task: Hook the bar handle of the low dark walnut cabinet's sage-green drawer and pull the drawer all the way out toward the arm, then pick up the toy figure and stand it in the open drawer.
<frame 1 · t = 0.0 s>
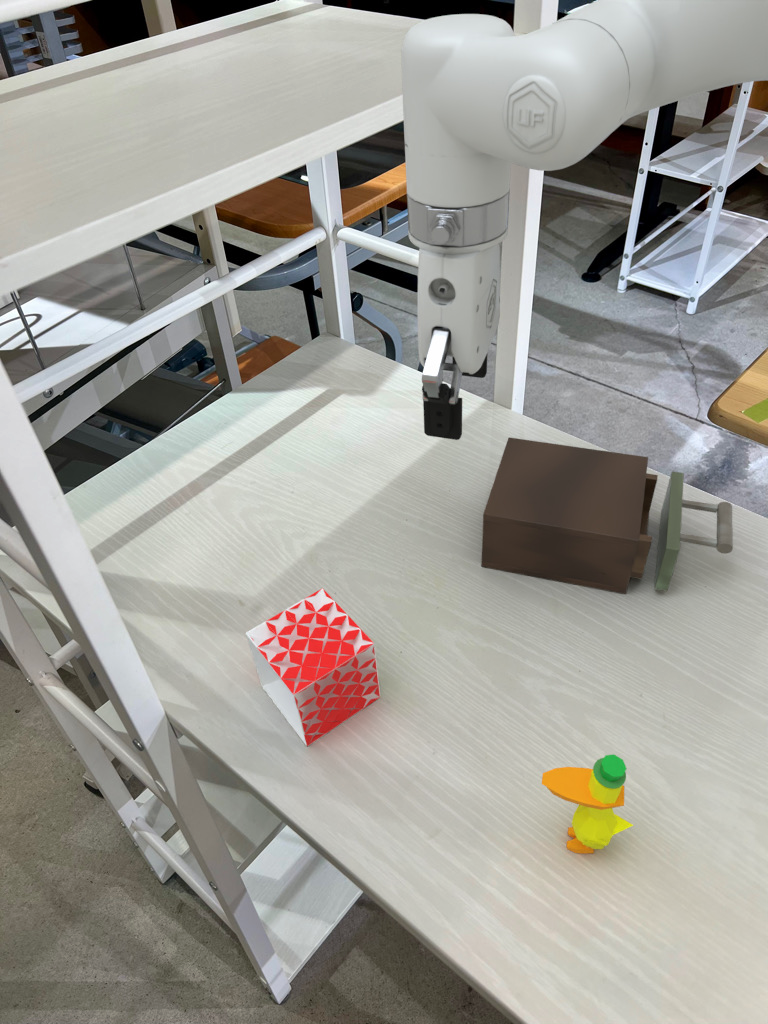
hand: (456, 403, 67), 19 cm above the table, tool pointing down, fingers open, 9 cm apart
cabinet: (560, 537, 80), on the table
toy figure: (577, 841, 57), on the table
drawer: (631, 523, 76), point 4 cm above the table, slide at 2.5 cm
red patterned cube: (320, 692, 68), on the table
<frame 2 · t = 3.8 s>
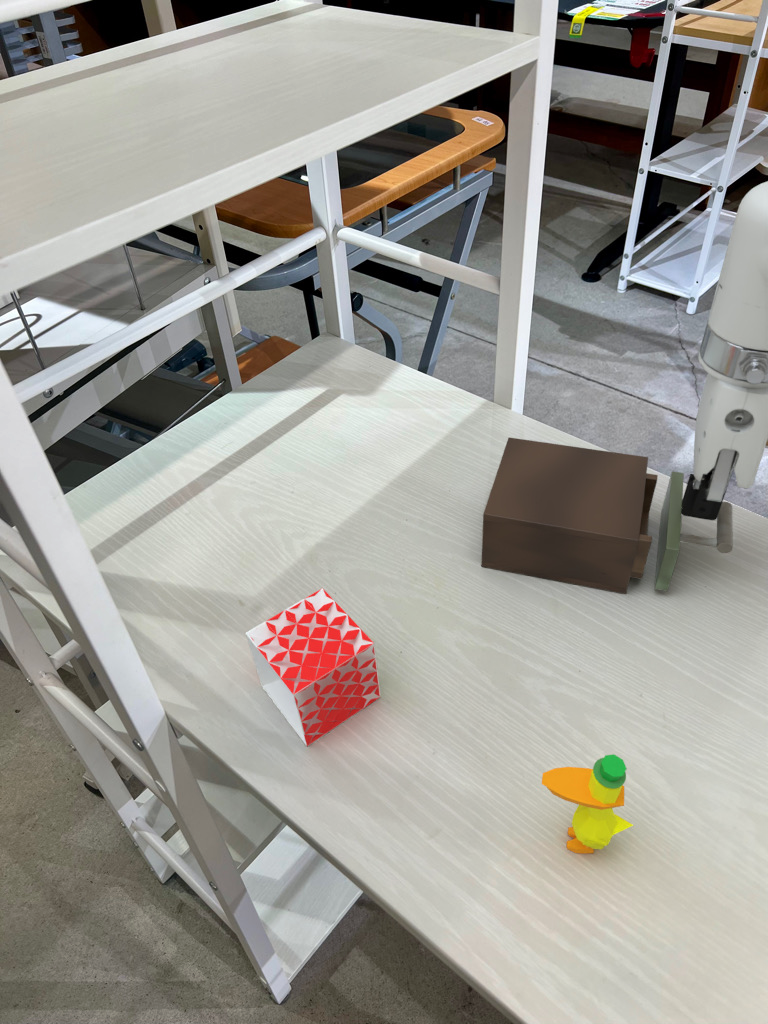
hand: (698, 512, 72), 7 cm above the table, tool pointing down, fingers closed
drawer: (631, 523, 76), point 4 cm above the table, slide at 2.5 cm, touching gripper
everything else where it was.
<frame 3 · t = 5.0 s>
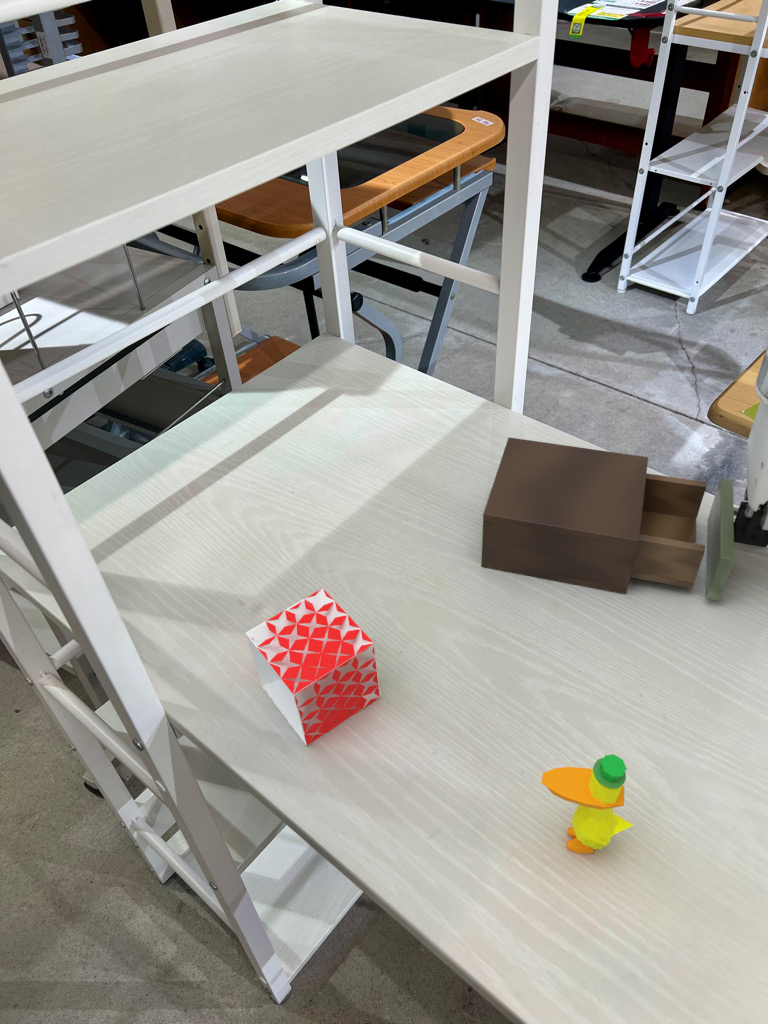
hand: (748, 539, 72), 4 cm above the table, tool pointing down, fingers closed
drawer: (680, 531, 74), point 4 cm above the table, slide at 7.2 cm, touching gripper
everything else where it was.
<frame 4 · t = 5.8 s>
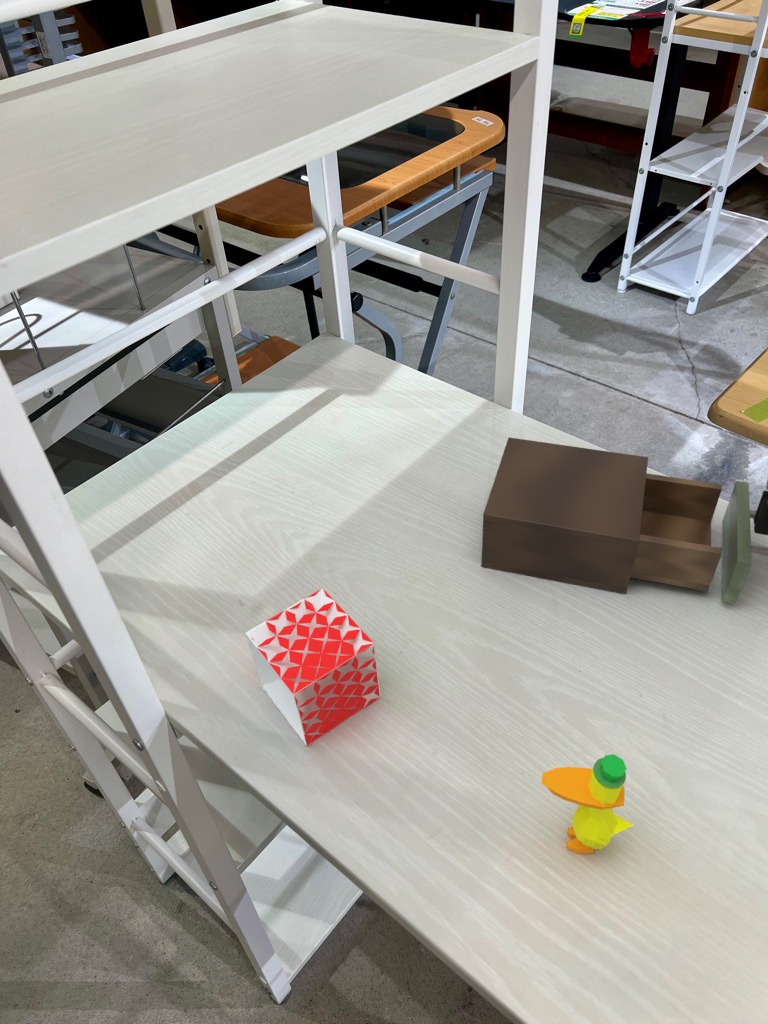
drawer: (695, 533, 74), point 4 cm above the table, slide at 8.7 cm
everything else where it was.
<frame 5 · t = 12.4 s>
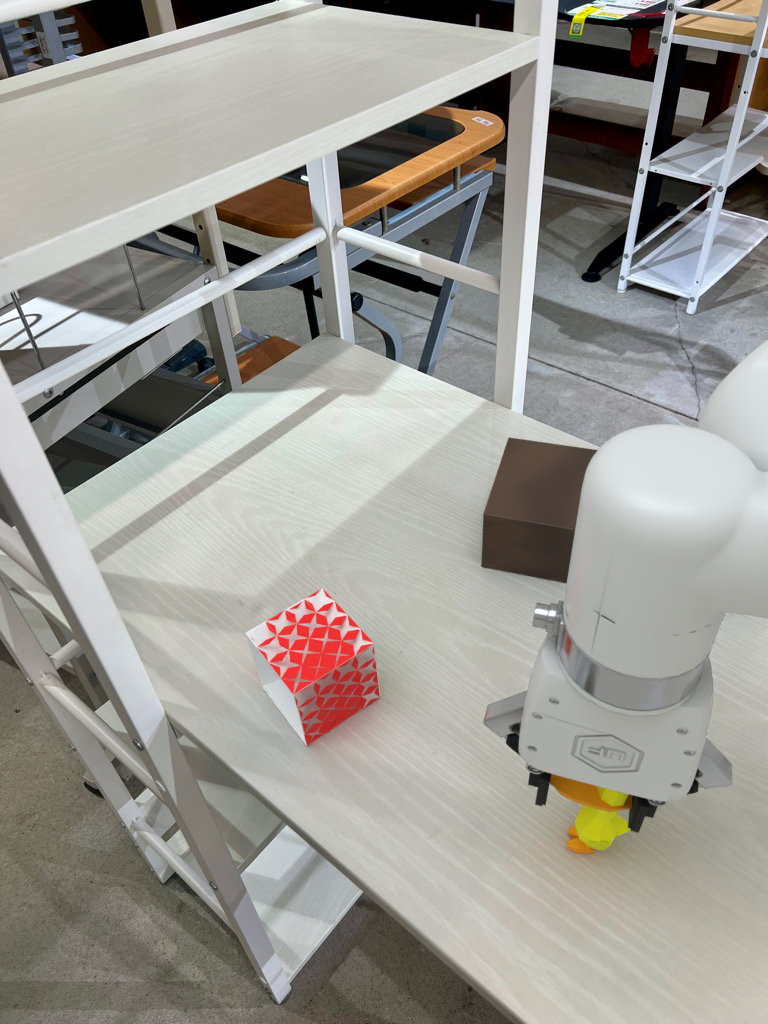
hand: (588, 797, 52), 7 cm above the table, tool pointing down, fingers closed on toy figure, 5 cm apart
toy figure: (577, 841, 57), on the table, touching gripper
everything else where it was.
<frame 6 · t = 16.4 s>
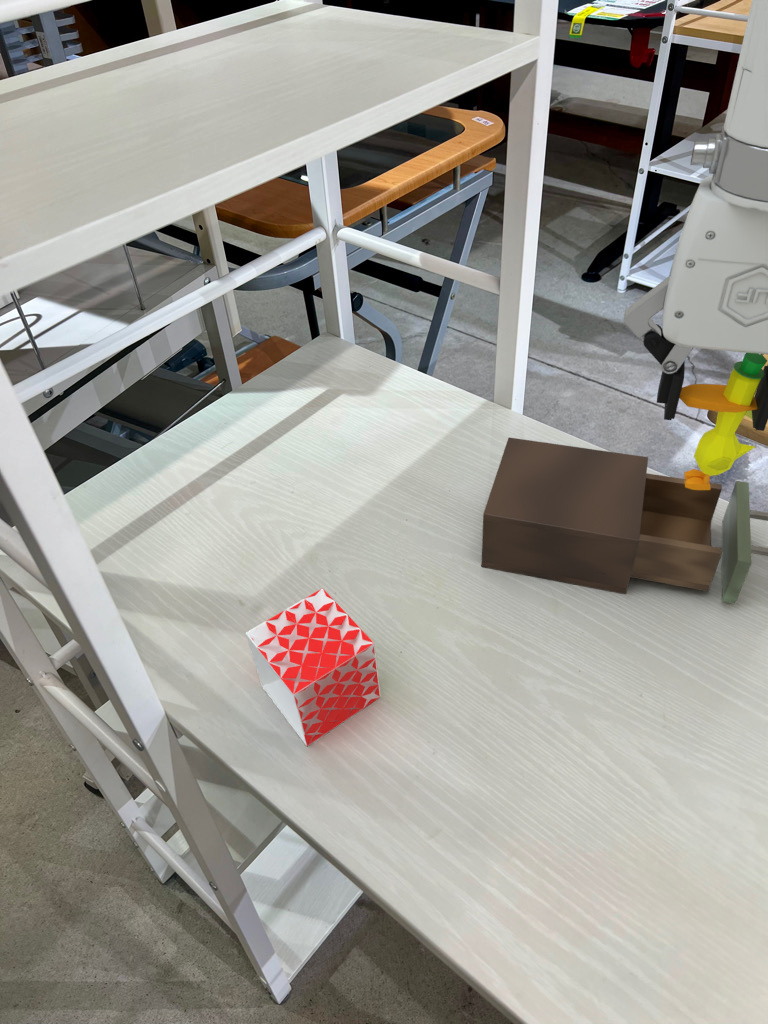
hand: (713, 412, 56), 23 cm above the table, tool pointing down, fingers closed on toy figure, 5 cm apart
toy figure: (693, 484, 61), point 16 cm above the table, touching gripper
everything else where it was.
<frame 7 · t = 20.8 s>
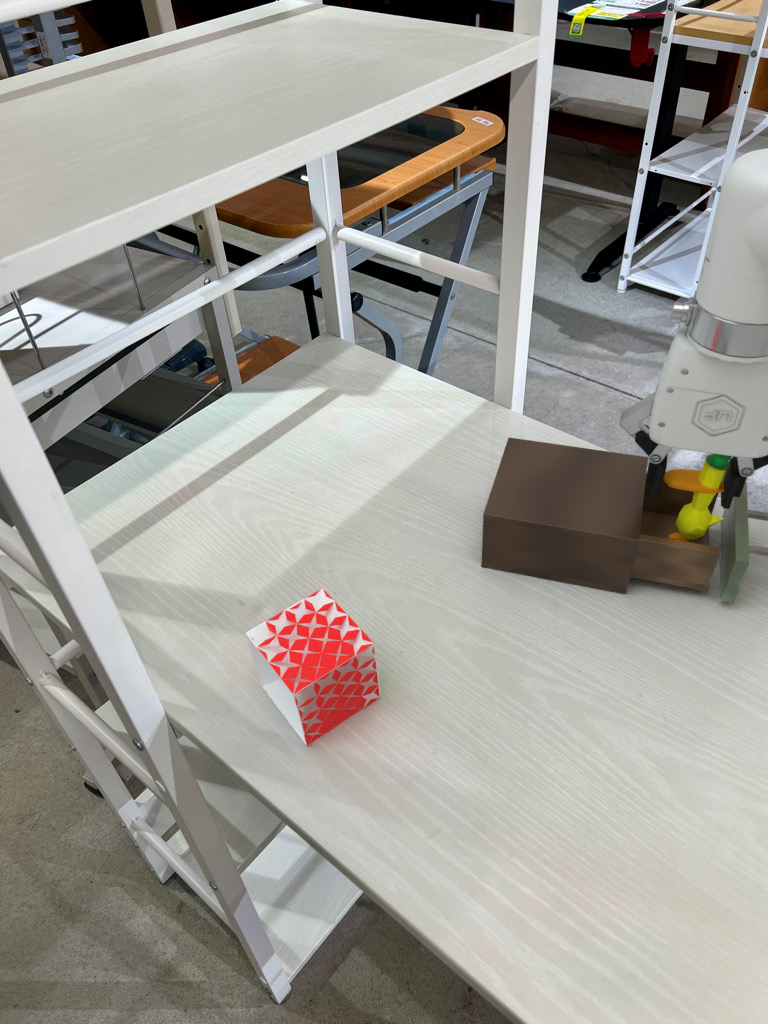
hand: (690, 492, 71), 9 cm above the table, tool pointing down, fingers closed on toy figure, 5 cm apart
toy figure: (675, 544, 76), point 2 cm above the table, touching drawer, gripper
drawer: (693, 533, 74), point 4 cm above the table, slide at 8.5 cm, touching toy figure
everything else where it was.
when the fingers open (9 cm above the table, at t = 20.8 s): toy figure stays where it is, resting on drawer.
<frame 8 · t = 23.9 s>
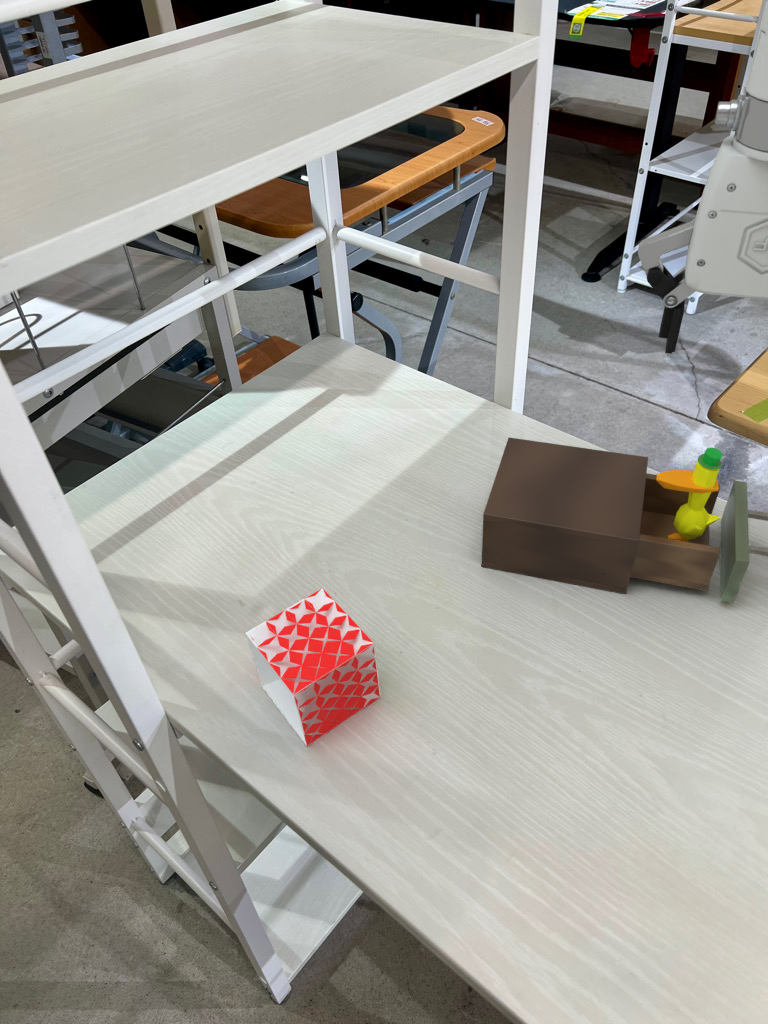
hand: (732, 351, 60), 24 cm above the table, tool pointing down, fingers open, 9 cm apart
toy figure: (675, 545, 76), point 2 cm above the table, touching drawer
everything else where it was.
at the end: drawer slide at 8.5 cm; toy figure inside the target area in the drawer (0.1 cm from its centre), point 1.8 cm above the cabinet's base; toy figure tilted 0° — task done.
